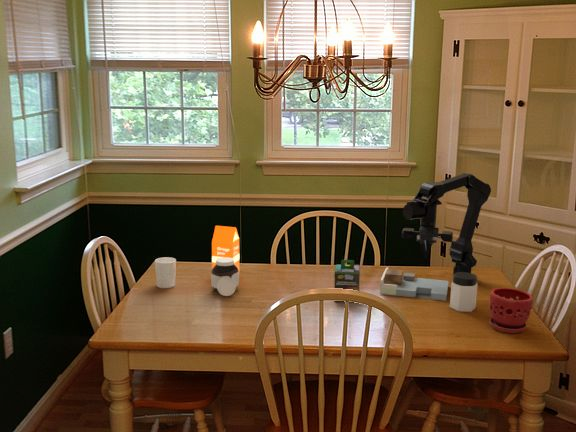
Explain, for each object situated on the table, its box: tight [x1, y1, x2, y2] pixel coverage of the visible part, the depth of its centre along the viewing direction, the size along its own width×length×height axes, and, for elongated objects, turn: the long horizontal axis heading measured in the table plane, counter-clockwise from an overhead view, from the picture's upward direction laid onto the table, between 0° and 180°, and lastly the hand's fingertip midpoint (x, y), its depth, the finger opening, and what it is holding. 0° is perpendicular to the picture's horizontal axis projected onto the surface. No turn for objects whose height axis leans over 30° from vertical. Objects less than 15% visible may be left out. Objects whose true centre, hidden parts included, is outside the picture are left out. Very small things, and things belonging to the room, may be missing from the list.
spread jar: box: [210, 257, 240, 297], centre depth 250 cm, size 12×11×12 cm
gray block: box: [402, 272, 416, 282], centre depth 261 cm, size 4×4×4 cm
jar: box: [449, 272, 478, 313], centre depth 237 cm, size 9×8×12 cm
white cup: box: [154, 256, 177, 289], centre depth 255 cm, size 8×8×10 cm
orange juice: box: [211, 225, 241, 271], centre depth 268 cm, size 8×9×20 cm
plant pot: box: [489, 287, 534, 334], centre depth 220 cm, size 13×13×12 cm
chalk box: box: [333, 259, 361, 303], centre depth 245 cm, size 9×9×15 cm
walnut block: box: [385, 268, 404, 286], centre depth 256 cm, size 6×6×4 cm
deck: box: [379, 266, 449, 302], centre depth 255 cm, size 24×16×6 cm, turn 74°
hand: (425, 256), depth 257 cm, fingers closed
